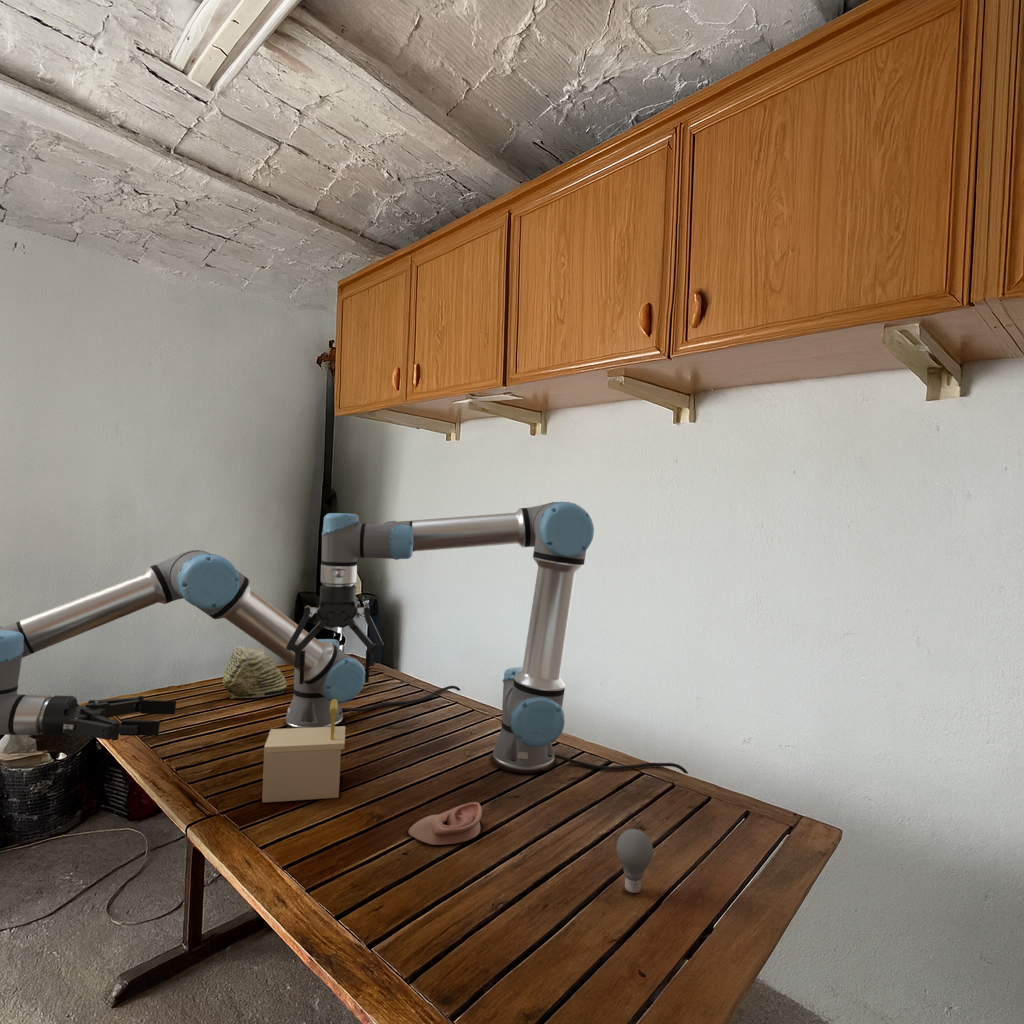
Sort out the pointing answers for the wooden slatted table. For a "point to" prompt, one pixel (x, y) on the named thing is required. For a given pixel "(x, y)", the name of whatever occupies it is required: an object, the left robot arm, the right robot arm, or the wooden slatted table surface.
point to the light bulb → (634, 857)
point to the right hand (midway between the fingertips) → (334, 681)
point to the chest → (301, 775)
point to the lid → (307, 737)
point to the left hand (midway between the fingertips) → (167, 717)
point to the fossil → (252, 674)
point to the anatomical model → (449, 825)
